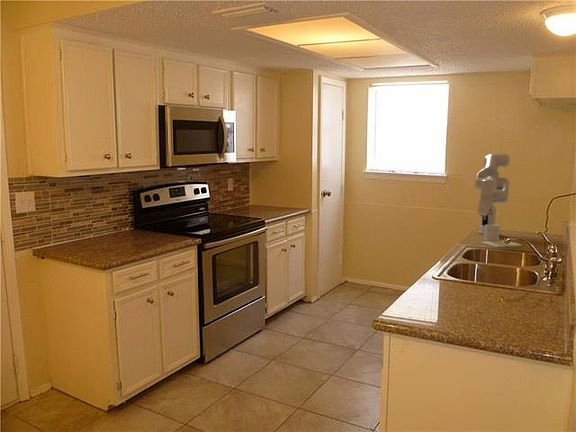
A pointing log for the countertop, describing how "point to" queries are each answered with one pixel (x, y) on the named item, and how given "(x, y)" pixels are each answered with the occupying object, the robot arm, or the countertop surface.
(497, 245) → the mat
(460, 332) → the countertop surface
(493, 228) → the small box
